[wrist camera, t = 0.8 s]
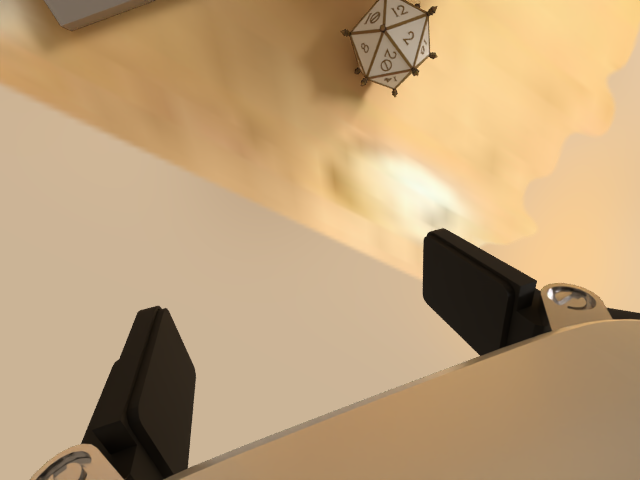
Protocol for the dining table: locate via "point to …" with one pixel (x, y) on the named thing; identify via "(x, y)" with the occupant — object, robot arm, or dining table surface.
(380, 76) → the game die
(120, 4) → the button board
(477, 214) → the dining table surface
